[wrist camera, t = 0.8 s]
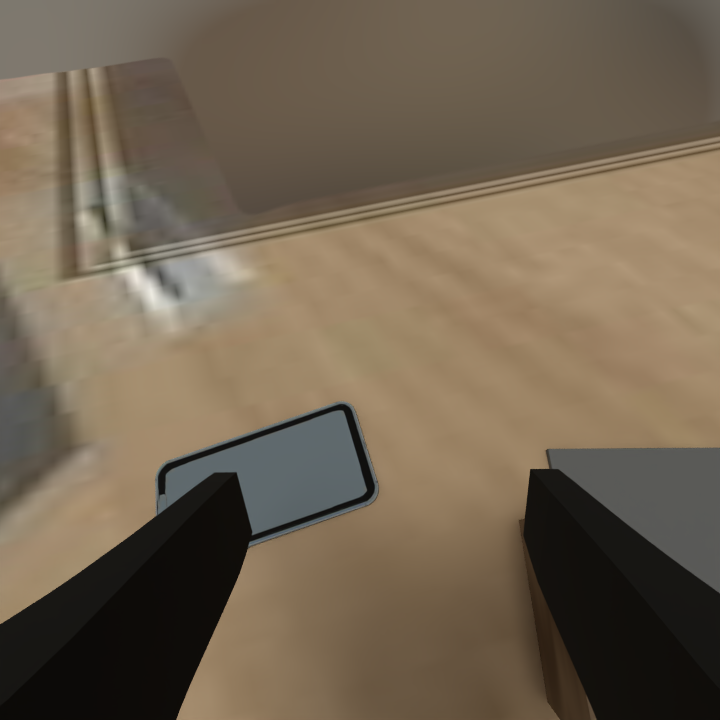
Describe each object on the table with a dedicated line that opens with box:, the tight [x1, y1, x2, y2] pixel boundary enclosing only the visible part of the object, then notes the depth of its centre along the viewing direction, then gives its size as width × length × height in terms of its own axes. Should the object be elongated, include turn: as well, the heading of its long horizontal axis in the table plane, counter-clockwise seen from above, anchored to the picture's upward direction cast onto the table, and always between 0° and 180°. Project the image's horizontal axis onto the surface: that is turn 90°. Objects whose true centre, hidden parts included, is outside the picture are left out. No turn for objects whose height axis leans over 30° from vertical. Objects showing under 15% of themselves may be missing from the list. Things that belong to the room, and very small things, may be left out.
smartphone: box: [155, 401, 379, 548], centre depth 24 cm, size 7×1×15 cm
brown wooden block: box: [519, 519, 597, 720], centre depth 16 cm, size 8×2×6 cm, turn 178°
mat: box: [546, 448, 720, 593], centre depth 17 cm, size 16×12×1 cm
